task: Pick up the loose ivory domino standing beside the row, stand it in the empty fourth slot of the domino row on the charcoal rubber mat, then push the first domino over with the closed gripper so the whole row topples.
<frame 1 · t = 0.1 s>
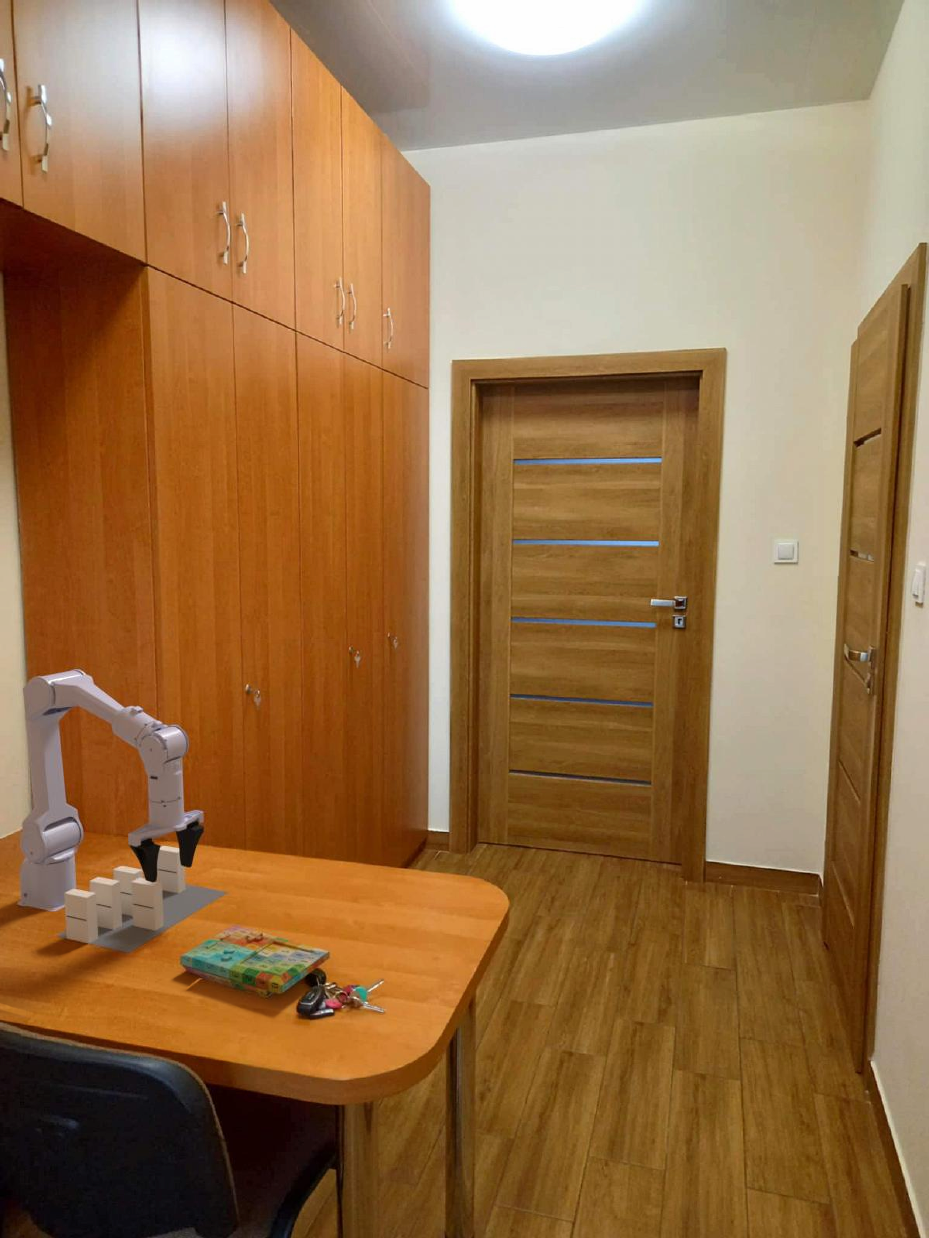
hand: (169, 873, 154), 10 cm above the table, tool pointing down, fingers open, 7 cm apart
domino 1: (82, 938, 150), point 1 cm above the table, touching mat
domino 5: (171, 889, 170), point 1 cm above the table, touching mat
domino 2: (106, 924, 155), point 1 cm above the table, touching mat
domino 4: (148, 925, 155), point 1 cm above the table, touching mat
mat: (146, 915, 160), on the table
domino 3: (129, 912, 160), point 1 cm above the table, touching mat
puzzle game: (255, 977, 139), on the table
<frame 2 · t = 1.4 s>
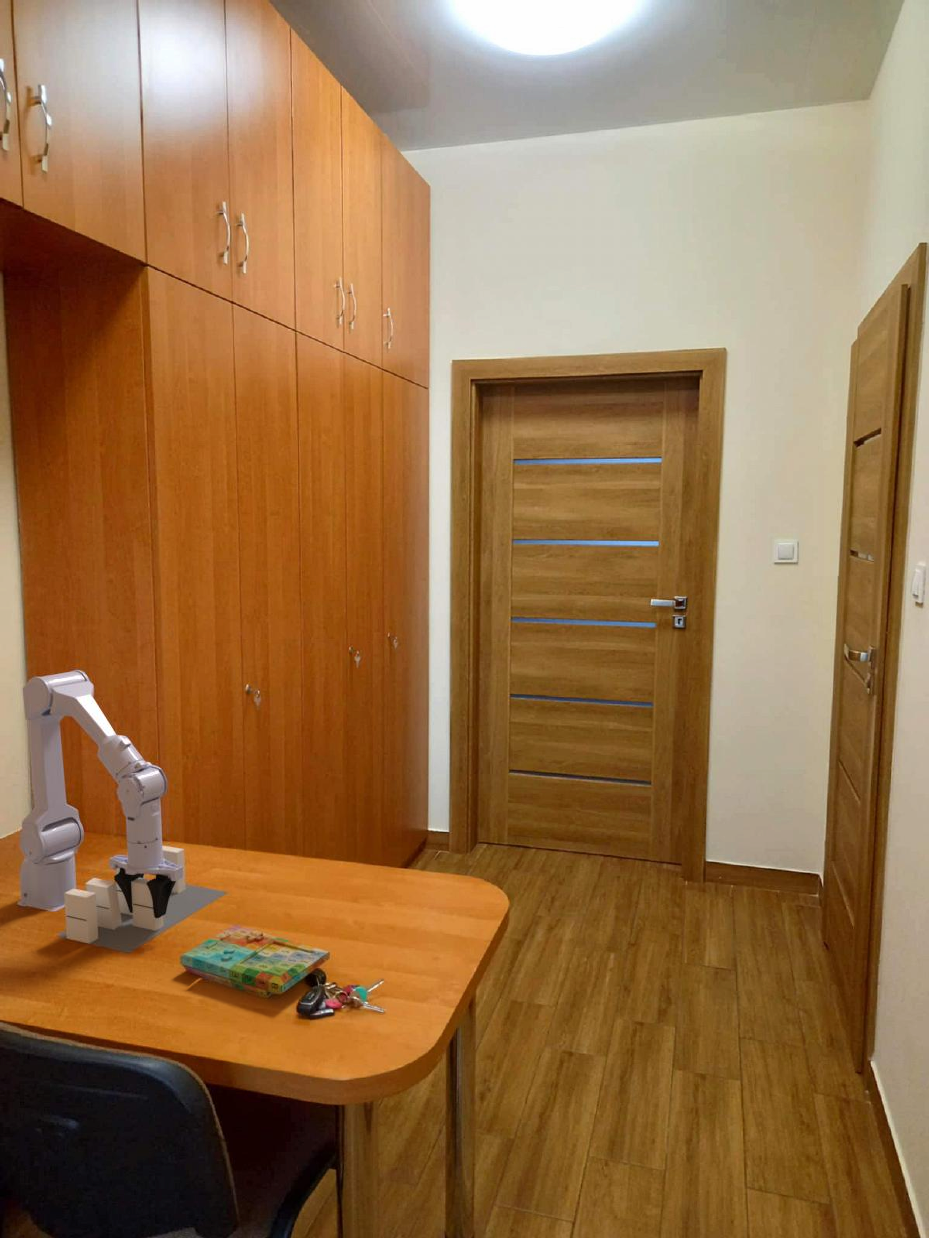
hand: (147, 913, 155), 3 cm above the table, tool pointing down, fingers closed on domino 4, 5 cm apart
domino 2: (106, 924, 155), point 1 cm above the table, tilted 7°, touching gripper, mat
domino 4: (148, 925, 155), point 1 cm above the table, touching gripper, mat
domino 3: (129, 911, 160), point 1 cm above the table, touching gripper, mat
everything else where it was.
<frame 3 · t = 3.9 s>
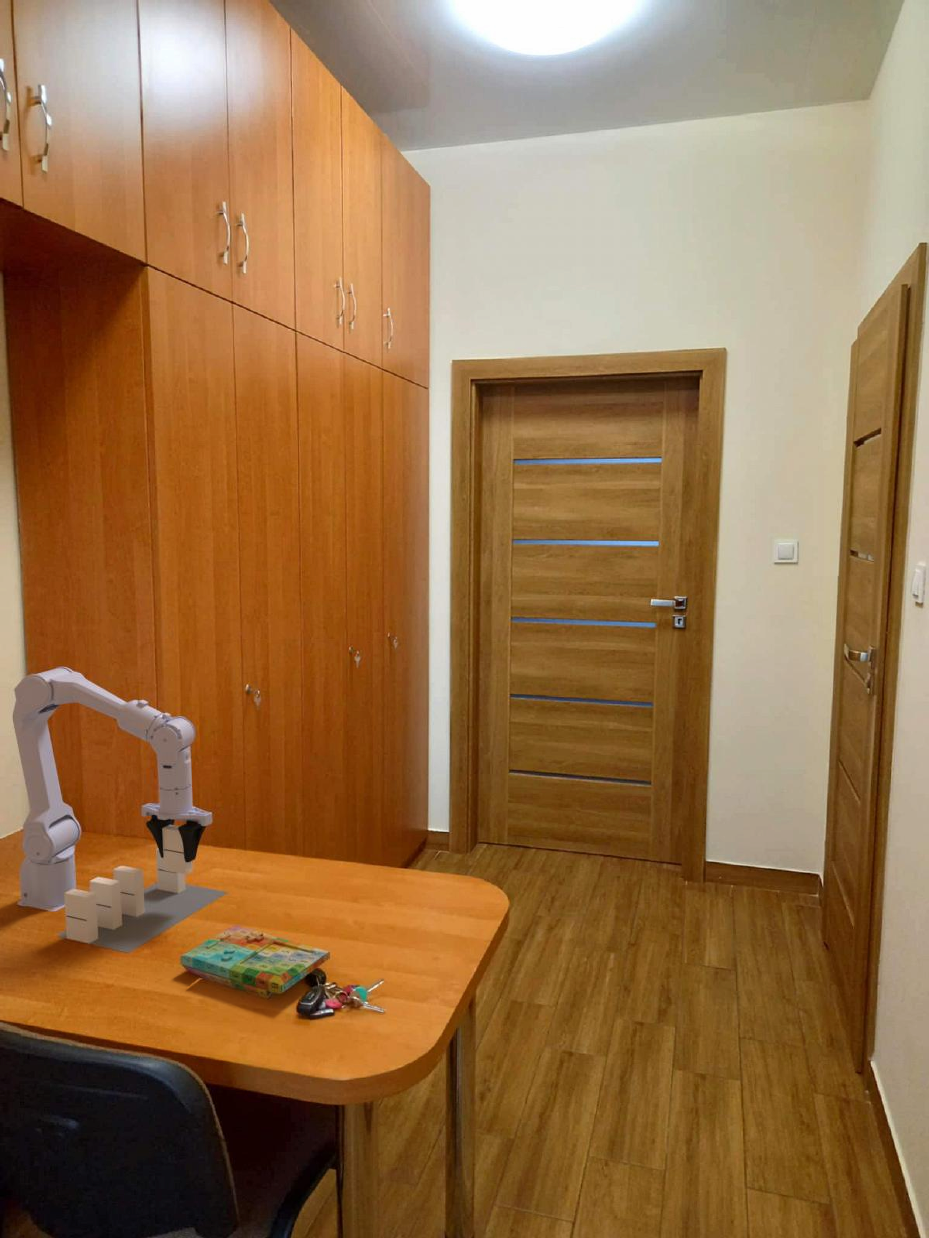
hand: (178, 858, 161), 10 cm above the table, tool pointing down, fingers closed on domino 4, 5 cm apart
domino 2: (106, 924, 155), point 1 cm above the table, touching mat
domino 4: (178, 870, 161), point 8 cm above the table, touching gripper
domino 3: (129, 912, 160), point 1 cm above the table, touching mat
everything else where it was.
when the fingers open (4 cm above the table, at t = 6.5 s): domino 4 stays where it is, resting on mat.
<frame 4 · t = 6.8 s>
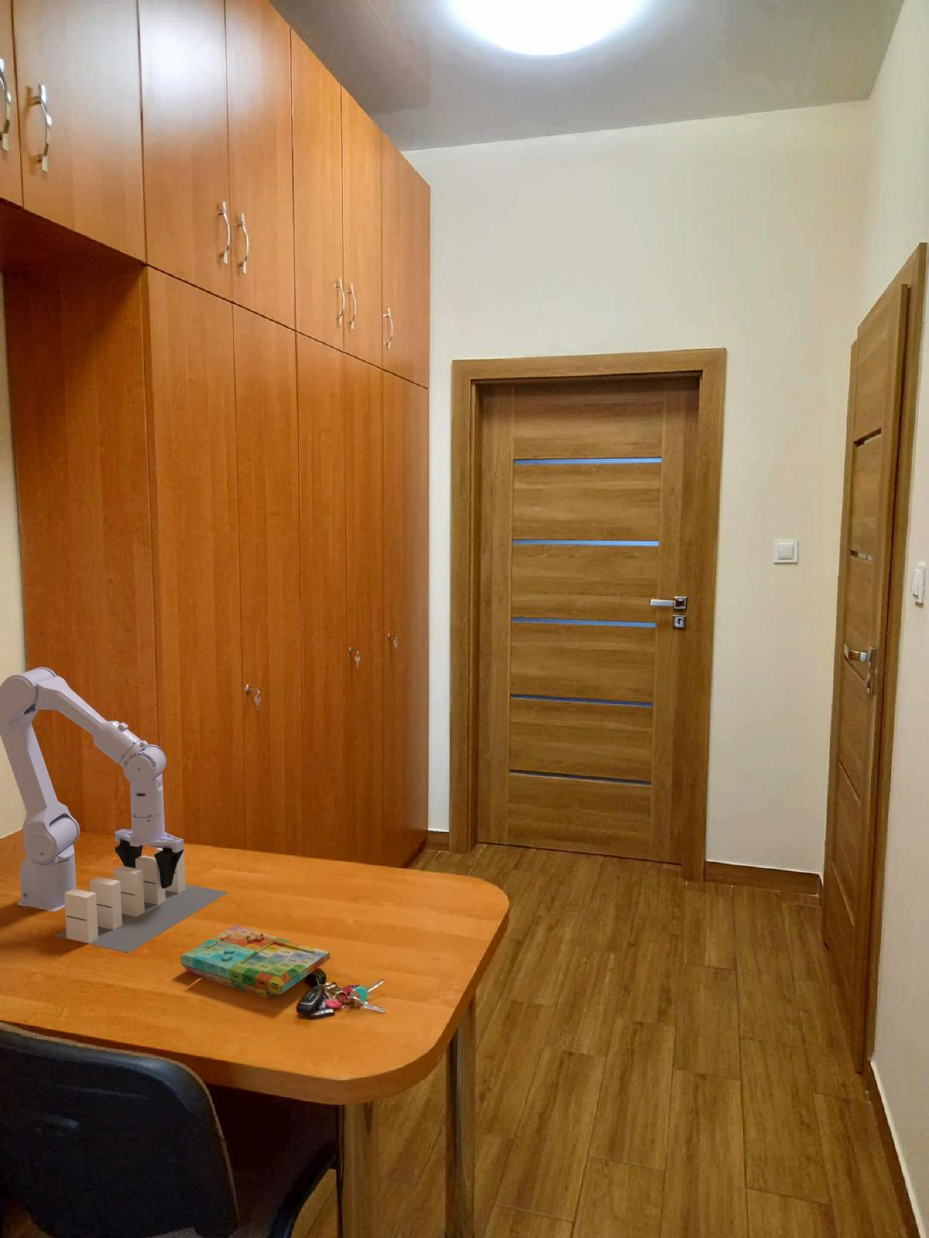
hand: (150, 883, 165), 4 cm above the table, tool pointing down, fingers open, 7 cm apart
domino 4: (151, 900, 165), point 1 cm above the table, touching mat
everything else where it was.
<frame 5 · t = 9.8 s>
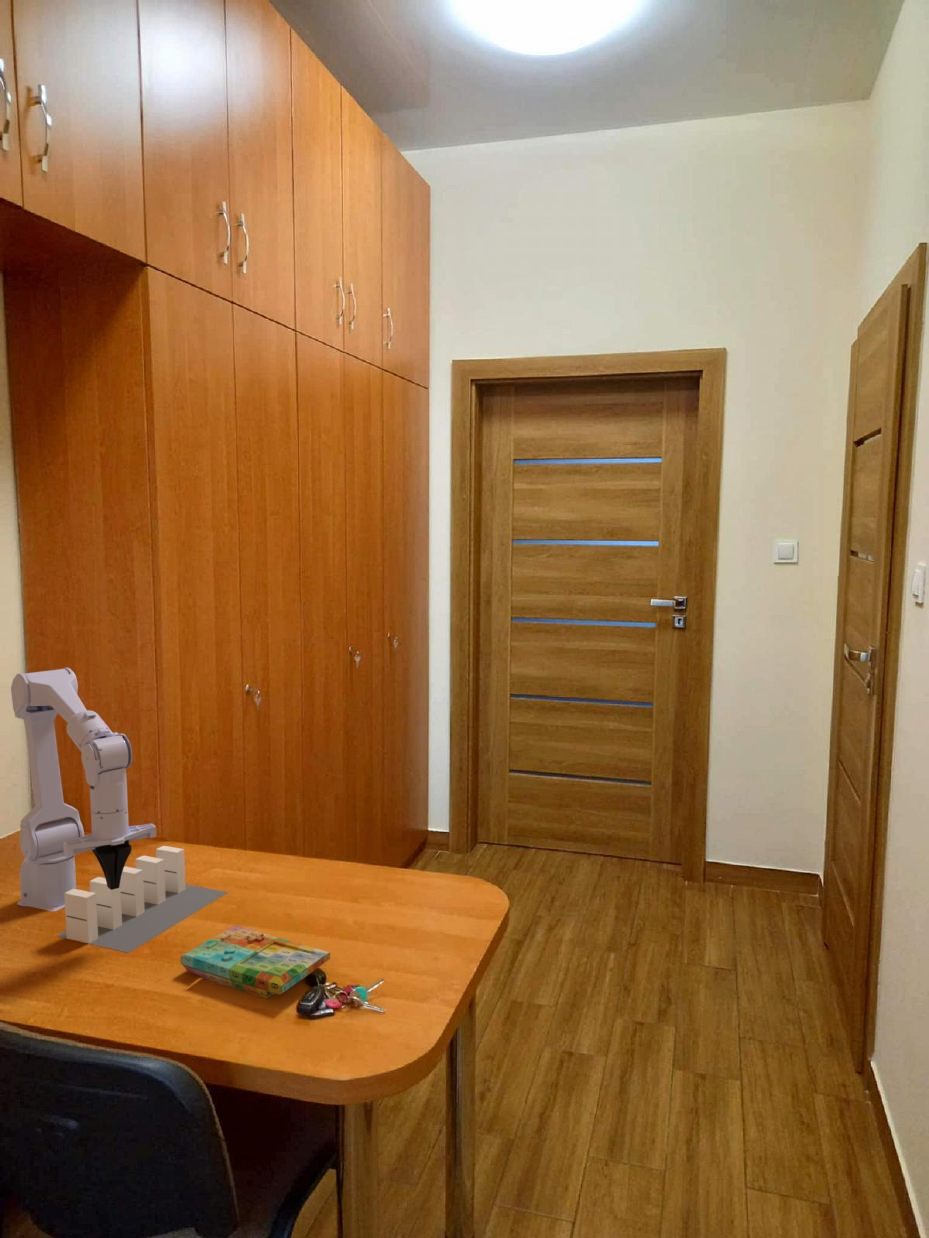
hand: (113, 887, 148), 10 cm above the table, tool pointing down, fingers closed
nothing on the table moved.
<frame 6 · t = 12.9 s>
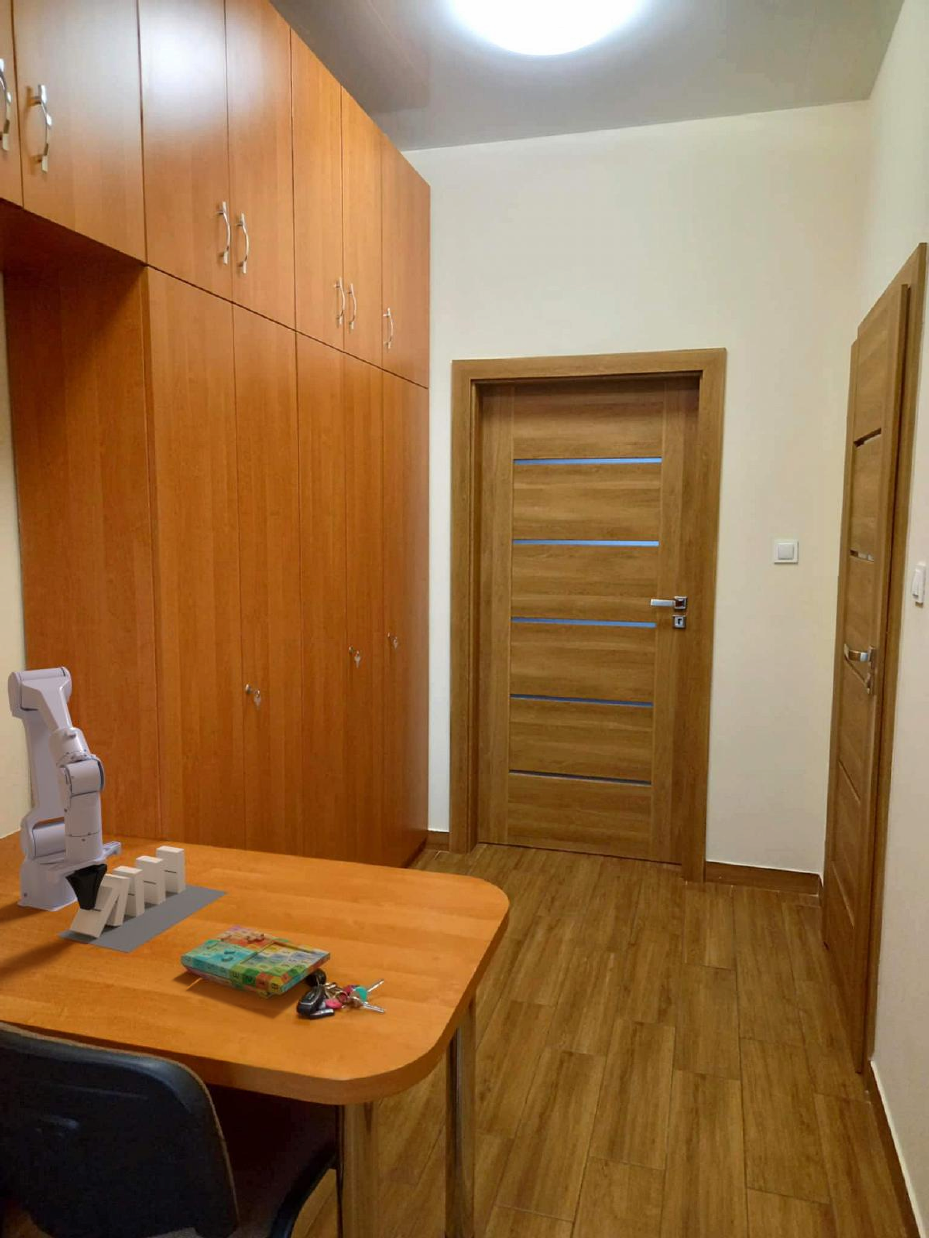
hand: (87, 907, 151), 5 cm above the table, tool pointing down, fingers closed
domino 1: (83, 933, 150), point 1 cm above the table, tilted 41°, touching mat
domino 2: (107, 922, 155), point 1 cm above the table, tilted 18°, touching mat
everything else where it was.
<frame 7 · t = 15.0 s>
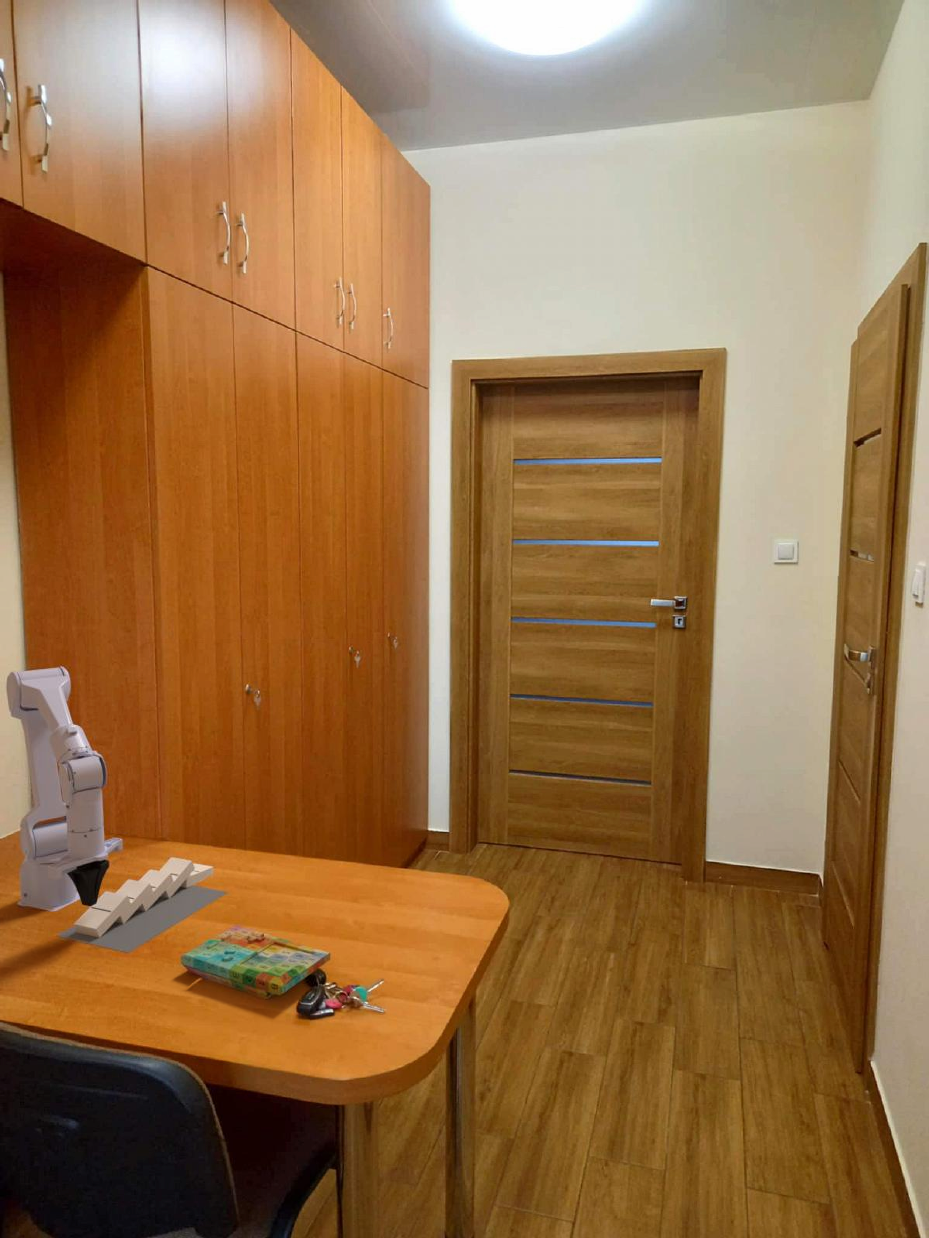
hand: (89, 903, 151), 6 cm above the table, tool pointing down, fingers closed
domino 1: (86, 930, 151), point 2 cm above the table, tilted 69°, touching domino 2, mat
domino 5: (176, 880, 171), point 2 cm above the table, tilted 96°, touching domino 4, mat
domino 2: (111, 917, 156), point 2 cm above the table, tilted 68°, touching domino 1, domino 3, mat
domino 4: (157, 892, 167), point 2 cm above the table, tilted 67°, touching domino 3, domino 5, mat
domino 3: (133, 904, 161), point 2 cm above the table, tilted 70°, touching domino 2, domino 4, mat
everything else where it was.
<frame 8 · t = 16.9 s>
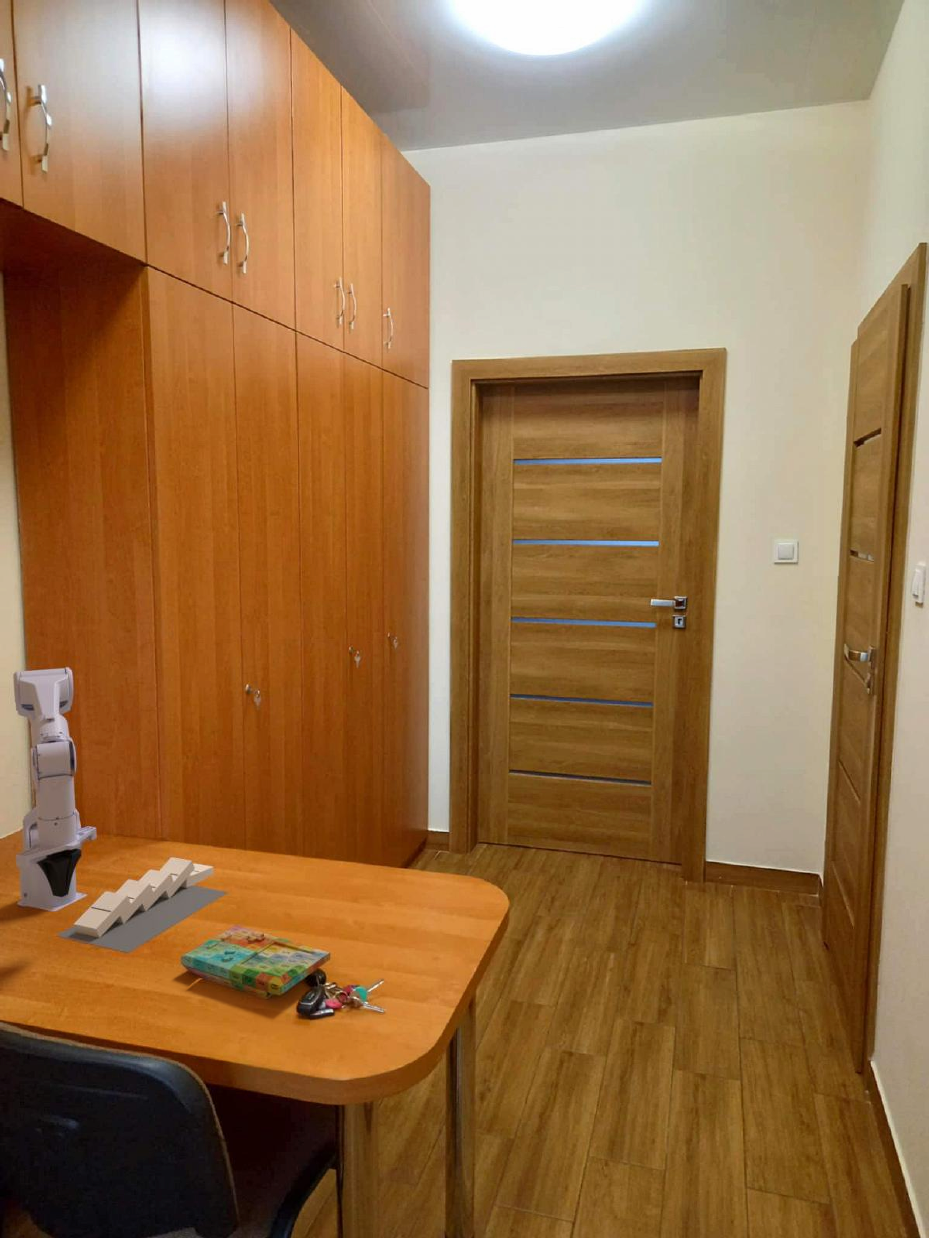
hand: (60, 894, 146), 10 cm above the table, tool pointing down, fingers closed
nothing on the table moved.
at the end: domino 5 tilted 96°; domino 4 tilted 67°; domino 4 inside the target area (0.5 cm from its centre), point 1.5 cm above the table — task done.
